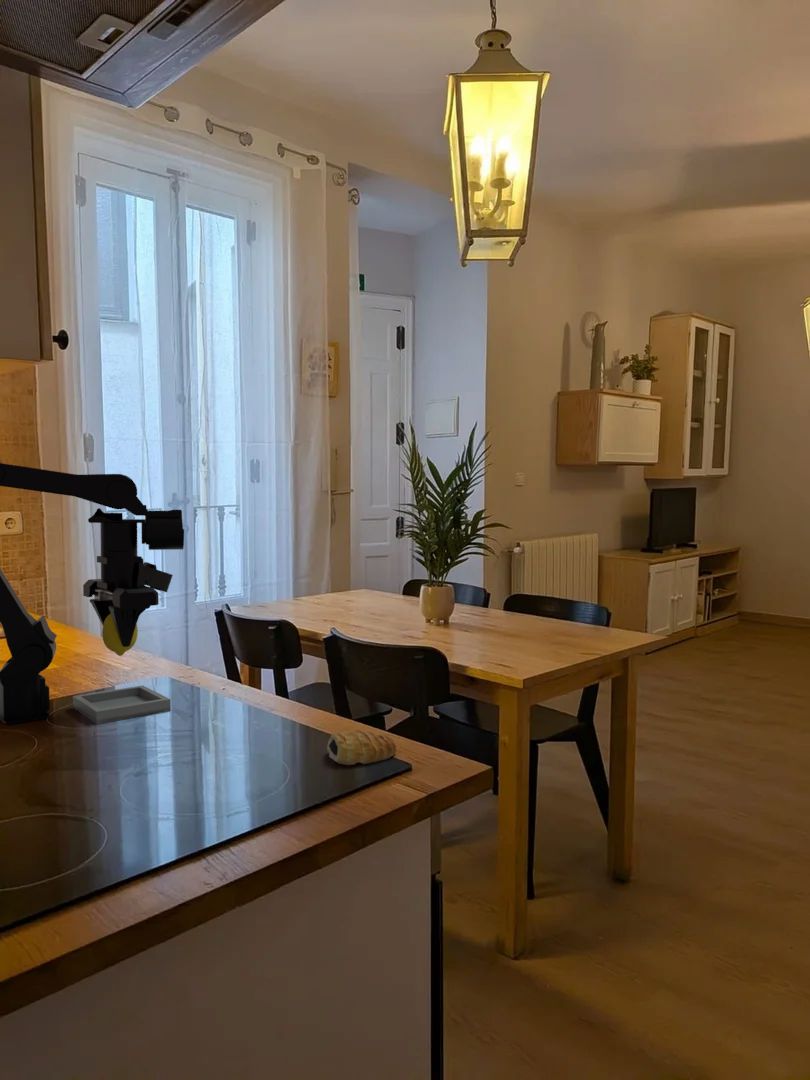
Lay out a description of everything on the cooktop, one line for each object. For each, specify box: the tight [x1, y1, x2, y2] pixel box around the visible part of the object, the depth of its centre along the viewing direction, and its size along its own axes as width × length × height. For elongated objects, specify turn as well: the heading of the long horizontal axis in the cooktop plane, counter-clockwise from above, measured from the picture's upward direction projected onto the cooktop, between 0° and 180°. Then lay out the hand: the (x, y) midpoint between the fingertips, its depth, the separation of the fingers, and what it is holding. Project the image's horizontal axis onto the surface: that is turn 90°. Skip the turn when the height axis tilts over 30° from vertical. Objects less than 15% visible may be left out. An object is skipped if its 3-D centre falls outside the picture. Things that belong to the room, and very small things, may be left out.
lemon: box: [101, 614, 139, 657], centre depth 129 cm, size 6×6×8 cm
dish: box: [72, 685, 172, 725], centre depth 130 cm, size 12×12×2 cm
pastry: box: [326, 729, 397, 766], centre depth 108 cm, size 9×7×4 cm
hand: (119, 643), depth 129 cm, fingers closed on lemon, 5 cm apart
